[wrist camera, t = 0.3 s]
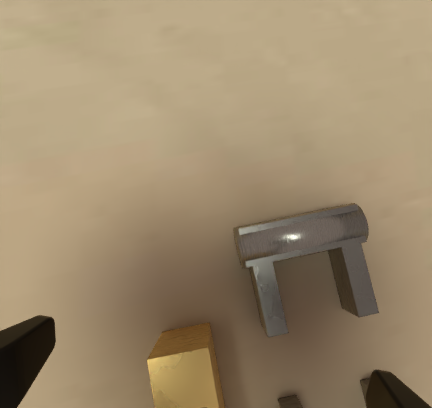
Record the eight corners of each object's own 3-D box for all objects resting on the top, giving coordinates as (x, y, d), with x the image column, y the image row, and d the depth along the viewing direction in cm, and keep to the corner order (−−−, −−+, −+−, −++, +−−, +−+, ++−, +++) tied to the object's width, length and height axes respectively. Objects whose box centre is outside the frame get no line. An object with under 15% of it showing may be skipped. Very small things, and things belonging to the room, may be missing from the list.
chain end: (232, 228, 22) (235, 227, 19) (343, 205, 22) (361, 200, 19) (253, 327, 21) (259, 341, 18) (368, 302, 21) (390, 312, 19)
